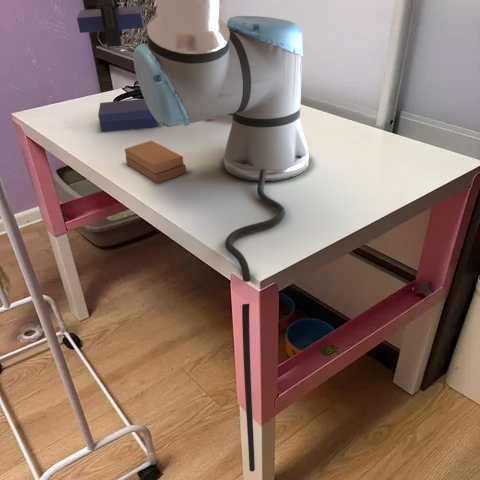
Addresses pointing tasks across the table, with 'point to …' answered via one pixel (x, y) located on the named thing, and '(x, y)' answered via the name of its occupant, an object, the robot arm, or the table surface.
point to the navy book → (125, 18)
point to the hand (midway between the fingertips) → (115, 40)
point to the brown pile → (155, 161)
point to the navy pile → (125, 115)
